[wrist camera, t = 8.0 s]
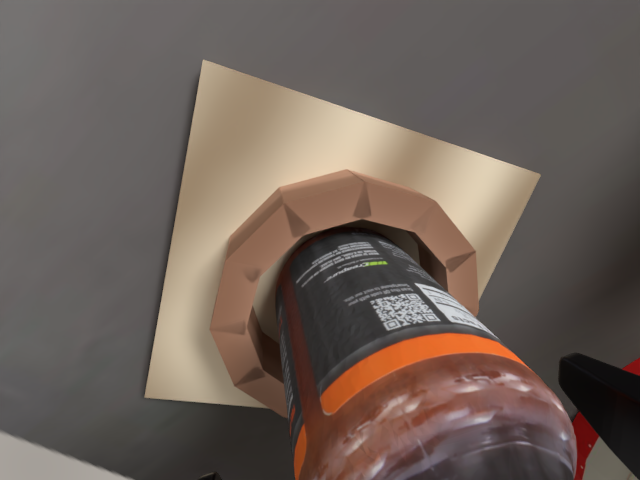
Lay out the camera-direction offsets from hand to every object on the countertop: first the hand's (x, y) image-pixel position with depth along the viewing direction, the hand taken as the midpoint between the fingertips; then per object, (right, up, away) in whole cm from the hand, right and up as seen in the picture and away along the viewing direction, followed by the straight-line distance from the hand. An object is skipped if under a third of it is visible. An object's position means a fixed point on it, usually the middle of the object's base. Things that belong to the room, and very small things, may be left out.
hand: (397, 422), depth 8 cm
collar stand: (-1, +3, +7) cm, 8 cm away
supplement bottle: (-1, +3, +6) cm, 7 cm away
